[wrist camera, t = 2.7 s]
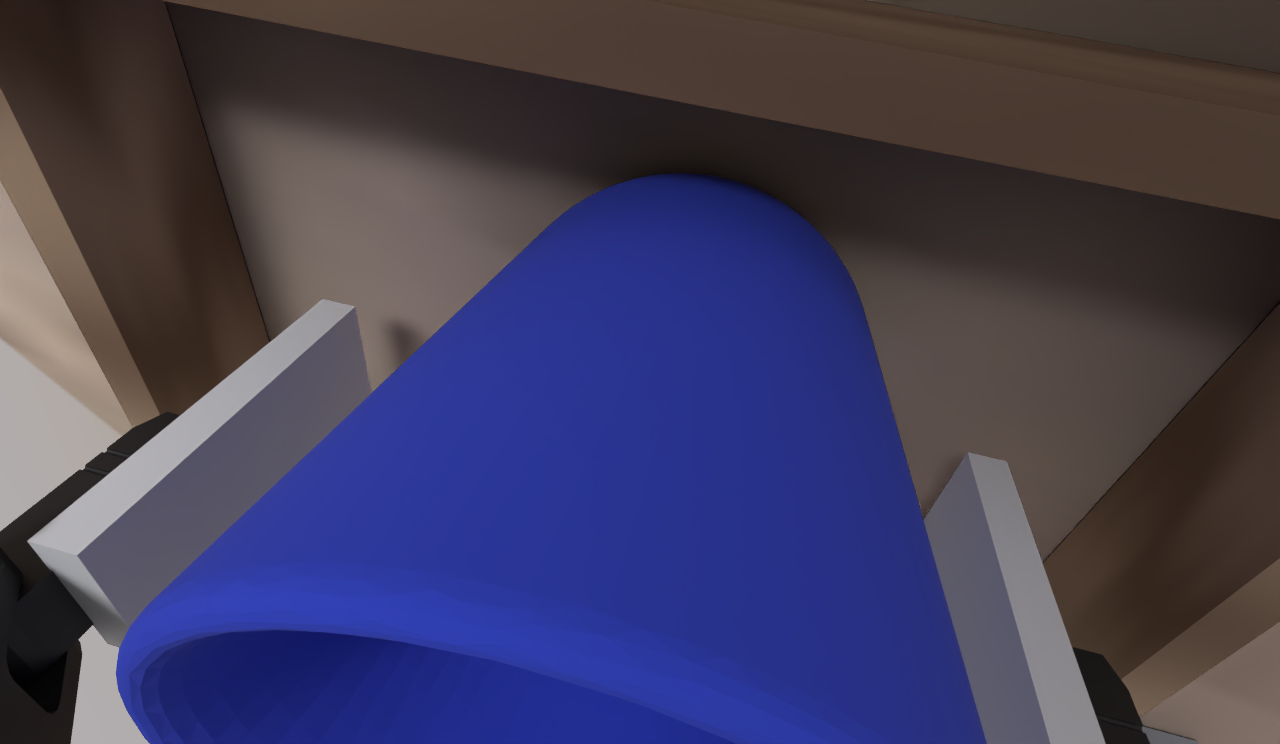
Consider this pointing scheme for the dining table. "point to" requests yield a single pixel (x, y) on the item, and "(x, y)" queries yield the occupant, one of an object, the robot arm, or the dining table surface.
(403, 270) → the dining table surface
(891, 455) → the mug
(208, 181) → the crate
